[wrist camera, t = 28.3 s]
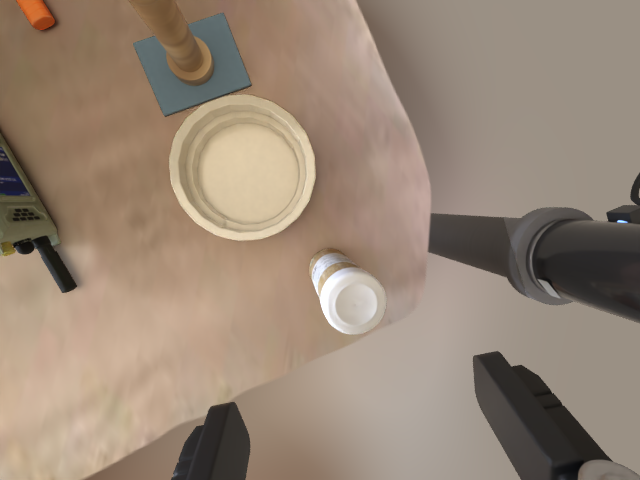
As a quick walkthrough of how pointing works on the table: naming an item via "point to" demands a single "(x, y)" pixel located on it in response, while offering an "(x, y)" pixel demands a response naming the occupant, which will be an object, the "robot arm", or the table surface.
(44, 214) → the handheld radio
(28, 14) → the magnifying glass
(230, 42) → the rest mat
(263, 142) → the bowl
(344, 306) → the sprinkles bottle
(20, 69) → the table surface
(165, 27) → the wooden pestle
